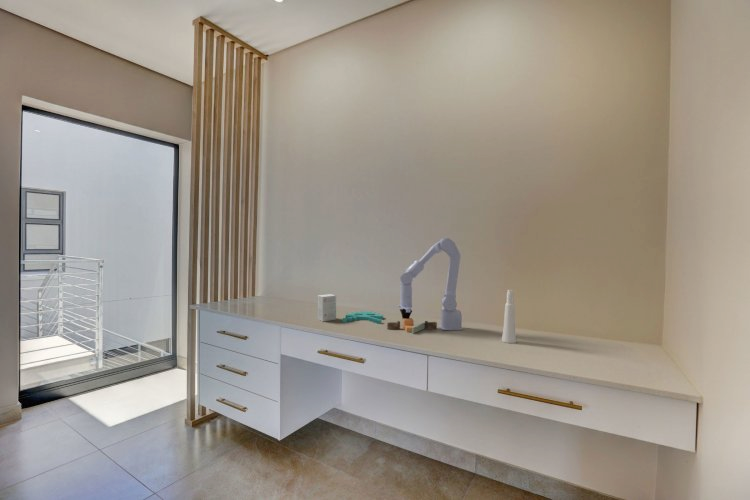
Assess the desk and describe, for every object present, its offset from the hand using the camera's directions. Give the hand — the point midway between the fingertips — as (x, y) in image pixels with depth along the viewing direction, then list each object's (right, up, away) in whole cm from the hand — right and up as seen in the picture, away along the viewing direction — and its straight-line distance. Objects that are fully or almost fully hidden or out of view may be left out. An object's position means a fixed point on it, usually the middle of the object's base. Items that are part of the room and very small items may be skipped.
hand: (405, 323), depth 173 cm
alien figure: (-21, -1, +17) cm, 27 cm away
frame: (+3, -2, -3) cm, 5 cm away
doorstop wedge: (+1, -2, -5) cm, 6 cm away
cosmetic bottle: (+42, -3, -22) cm, 48 cm away
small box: (-41, -1, +13) cm, 43 cm away
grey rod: (+6, -1, -8) cm, 10 cm away
